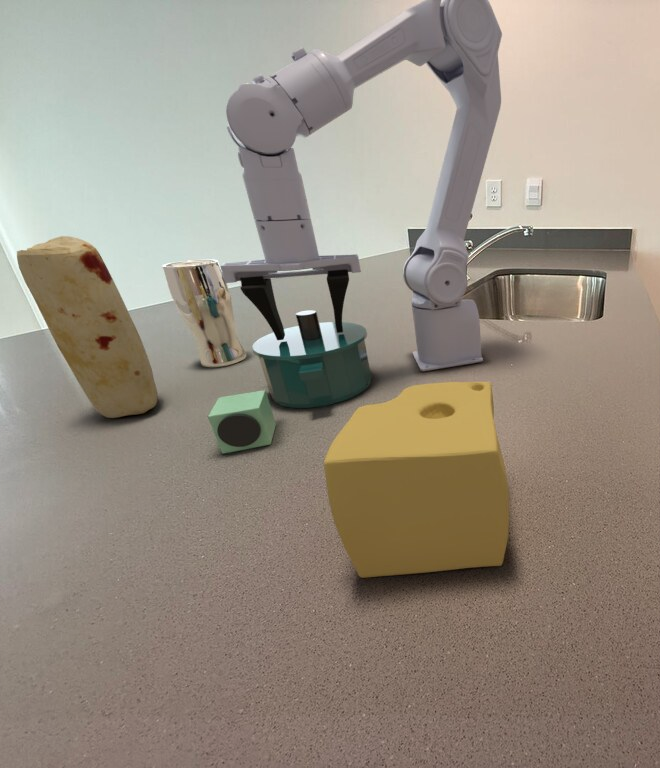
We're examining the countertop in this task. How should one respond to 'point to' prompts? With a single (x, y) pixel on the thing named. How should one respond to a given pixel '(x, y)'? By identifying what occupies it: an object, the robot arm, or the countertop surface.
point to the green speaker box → (242, 421)
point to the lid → (309, 339)
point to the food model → (90, 324)
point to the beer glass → (206, 309)
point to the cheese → (421, 482)
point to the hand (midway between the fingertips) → (311, 334)
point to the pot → (318, 378)
